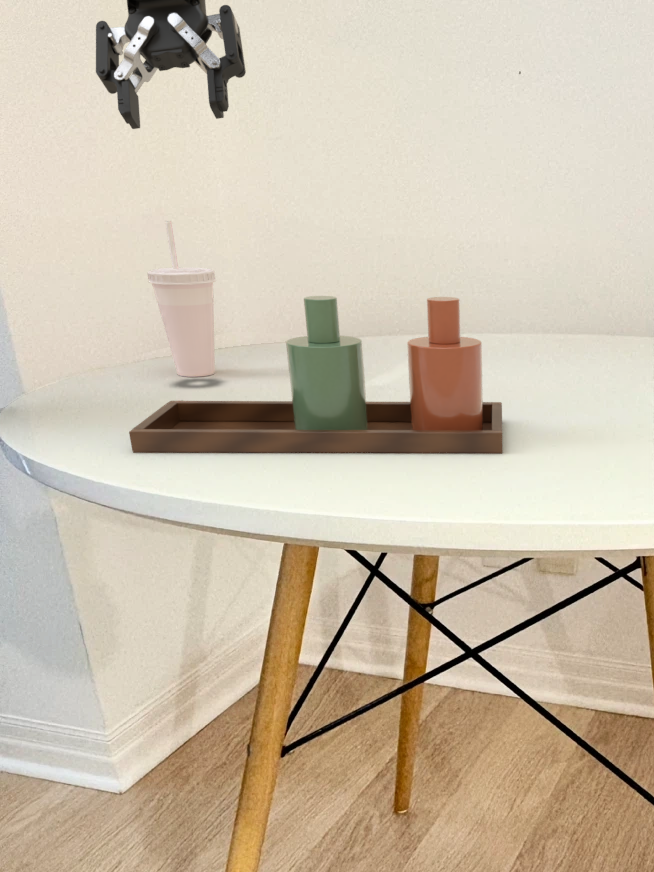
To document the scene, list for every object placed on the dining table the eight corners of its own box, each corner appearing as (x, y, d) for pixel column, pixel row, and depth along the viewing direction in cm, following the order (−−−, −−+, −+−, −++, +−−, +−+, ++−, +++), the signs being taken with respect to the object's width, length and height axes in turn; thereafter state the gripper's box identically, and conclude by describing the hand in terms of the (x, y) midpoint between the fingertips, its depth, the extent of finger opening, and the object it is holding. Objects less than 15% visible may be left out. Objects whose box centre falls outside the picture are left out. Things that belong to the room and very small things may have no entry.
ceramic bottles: (289, 444, 76) (274, 302, 71) (302, 426, 81) (288, 292, 76) (482, 444, 76) (480, 303, 72) (483, 427, 81) (481, 294, 76)
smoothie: (183, 366, 106) (160, 218, 99) (239, 369, 105) (220, 220, 98) (151, 377, 101) (124, 222, 94) (210, 380, 100) (187, 223, 93)
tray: (133, 460, 74) (128, 431, 73) (174, 426, 83) (170, 400, 82) (502, 461, 75) (502, 432, 74) (502, 427, 84) (501, 401, 83)
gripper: (76, -54, 98) (85, 100, 96) (220, -73, 97) (232, 81, 95) (112, 9, 105) (121, 152, 103) (246, -9, 105) (257, 135, 103)
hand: (174, 118), depth 99 cm, fingers open, 8 cm apart
